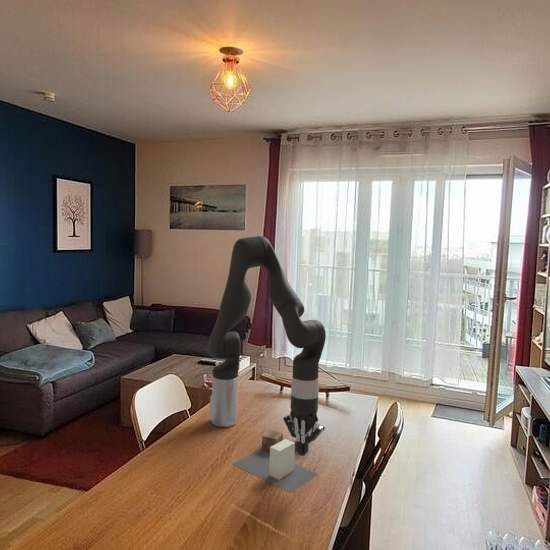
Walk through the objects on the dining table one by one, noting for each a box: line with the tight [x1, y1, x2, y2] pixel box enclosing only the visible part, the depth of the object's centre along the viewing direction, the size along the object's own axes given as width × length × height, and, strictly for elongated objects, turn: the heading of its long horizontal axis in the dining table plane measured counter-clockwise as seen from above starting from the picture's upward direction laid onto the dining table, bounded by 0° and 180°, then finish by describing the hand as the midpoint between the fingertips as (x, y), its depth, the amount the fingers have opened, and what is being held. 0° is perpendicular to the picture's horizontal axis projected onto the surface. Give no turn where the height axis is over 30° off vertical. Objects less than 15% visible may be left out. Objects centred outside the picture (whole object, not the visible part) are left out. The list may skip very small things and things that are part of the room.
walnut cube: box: [261, 429, 284, 452], centre depth 146 cm, size 5×5×5 cm
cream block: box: [269, 438, 296, 480], centre depth 131 cm, size 4×7×8 cm, turn 141°
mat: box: [232, 448, 319, 494], centre depth 133 cm, size 22×13×1 cm, turn 51°
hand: (302, 454), depth 126 cm, fingers closed
